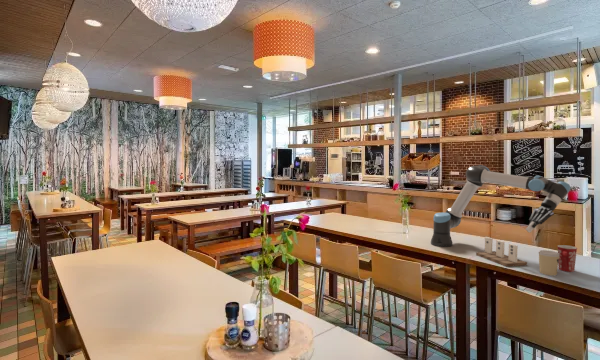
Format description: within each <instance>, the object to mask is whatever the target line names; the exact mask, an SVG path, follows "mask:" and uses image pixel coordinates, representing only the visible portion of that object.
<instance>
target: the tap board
mask: <svg viewBox="0 0 600 360" xmlns="http://www.w3.org/2000/svg"><path fill="white" fill-rule="evenodd" d="M475 255H476V256H478V257H480V258H483V259H485V260H488V261H491V262H493V263H496V264H498V265H501V266H504V267H506V268H509V267H523V266H527V265H528V262H527V261H524V260H521V259H518V258H517V262H512V261H509V260H508V254H507V255H506V254H504V258H501V257H498V256H496V250H492V254H490V253H487V252H485V251H479V252H478V251H477V252H475Z"/></svg>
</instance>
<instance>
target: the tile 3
mask: <svg viewBox="0 0 600 360" xmlns="http://www.w3.org/2000/svg"><path fill="white" fill-rule="evenodd" d="M518 248H519V247H518V245H515V244H513V243H508V254H507V256H508V260H509V261H512V262H517V259H518Z"/></svg>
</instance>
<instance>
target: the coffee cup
mask: <svg viewBox="0 0 600 360" xmlns="http://www.w3.org/2000/svg"><path fill="white" fill-rule="evenodd" d="M558 261H559V253H558V251H553V250H546V249H545V250H544V249H543V250H539V251H538V263H539V264H538V265H539V273H540V274H541V275H544V276H551V277H555V276H557V274H558V270H559V268H558Z"/></svg>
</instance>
